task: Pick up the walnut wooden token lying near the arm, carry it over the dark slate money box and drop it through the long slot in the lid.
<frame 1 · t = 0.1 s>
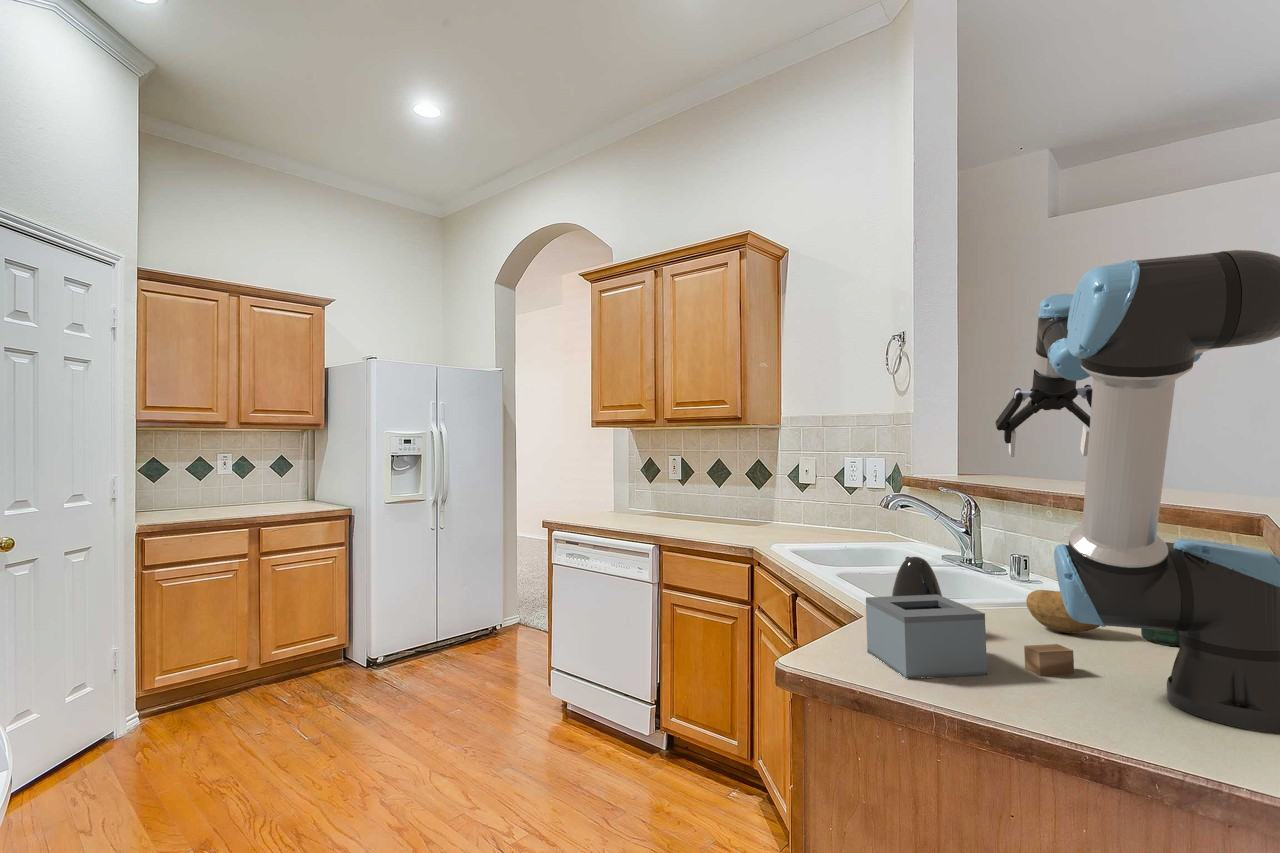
hand: (1046, 453, 139), 36 cm above the table, tool tilted 35°, fingers open, 13 cm apart
black dome cover: (918, 632, 129), on the table
potato: (1068, 632, 127), on the table
money box: (923, 662, 110), on the table
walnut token: (1049, 672, 105), on the table
coffee jar: (1168, 641, 120), on the table
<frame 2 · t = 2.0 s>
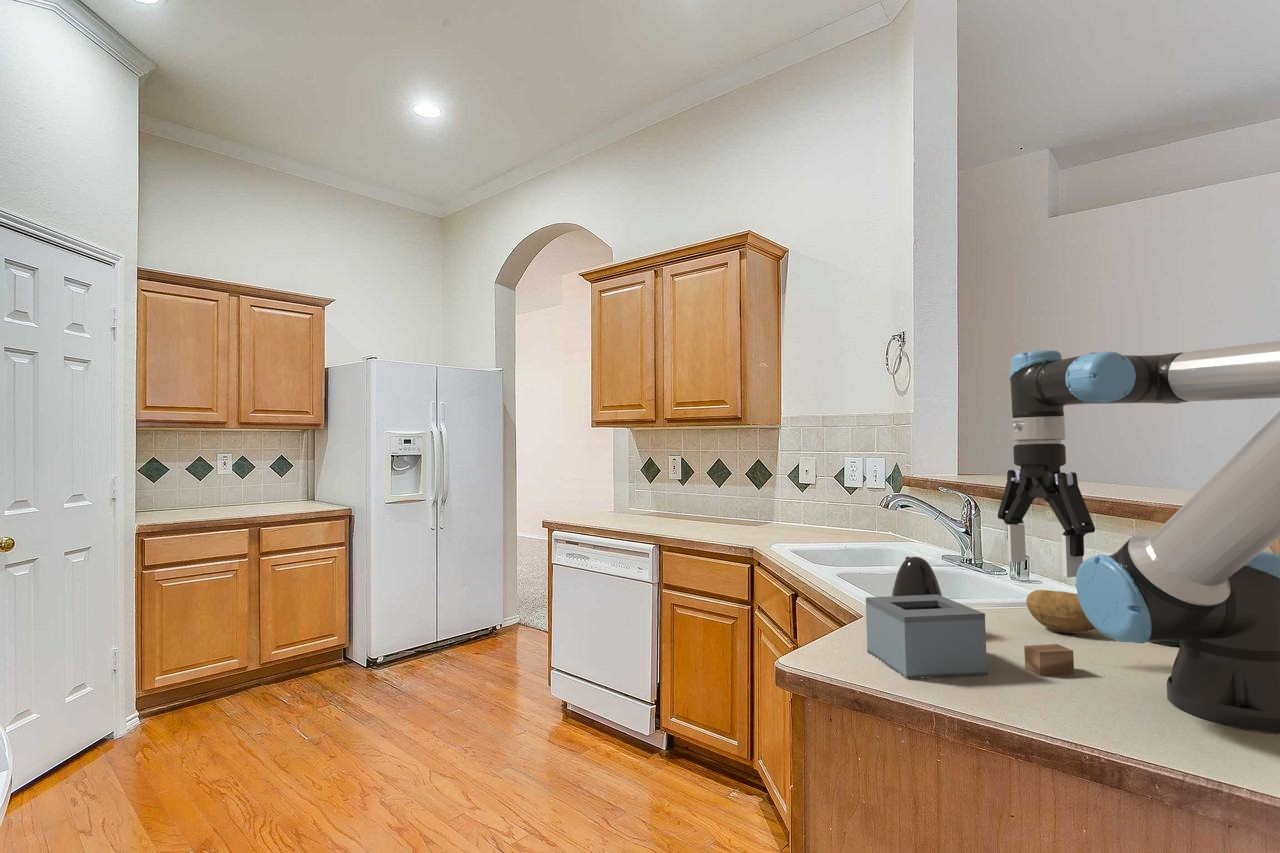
hand: (1043, 568, 106), 17 cm above the table, tool pointing down, fingers open, 13 cm apart
nothing on the table moved.
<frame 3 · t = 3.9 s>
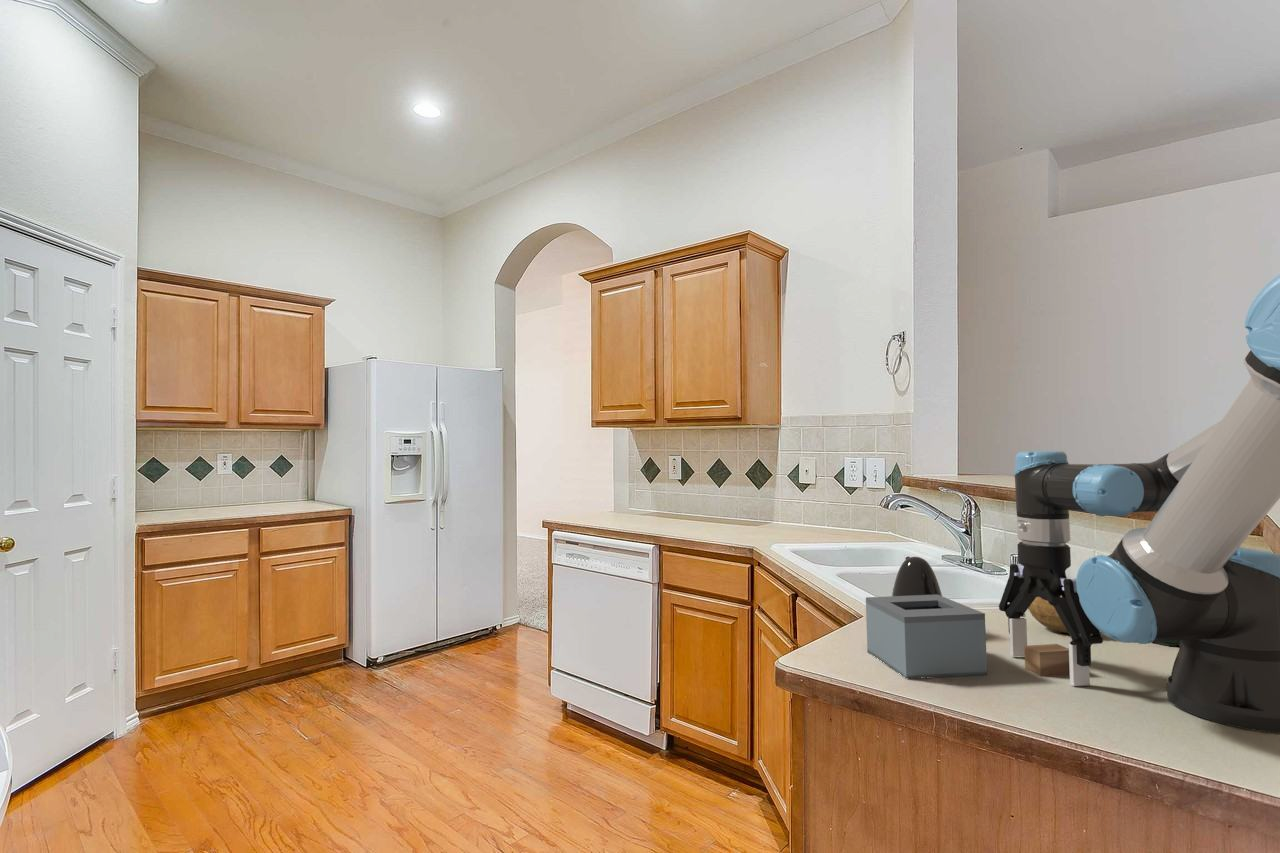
hand: (1047, 669, 105), 0 cm above the table, tool pointing down, fingers open, 13 cm apart
nothing on the table moved.
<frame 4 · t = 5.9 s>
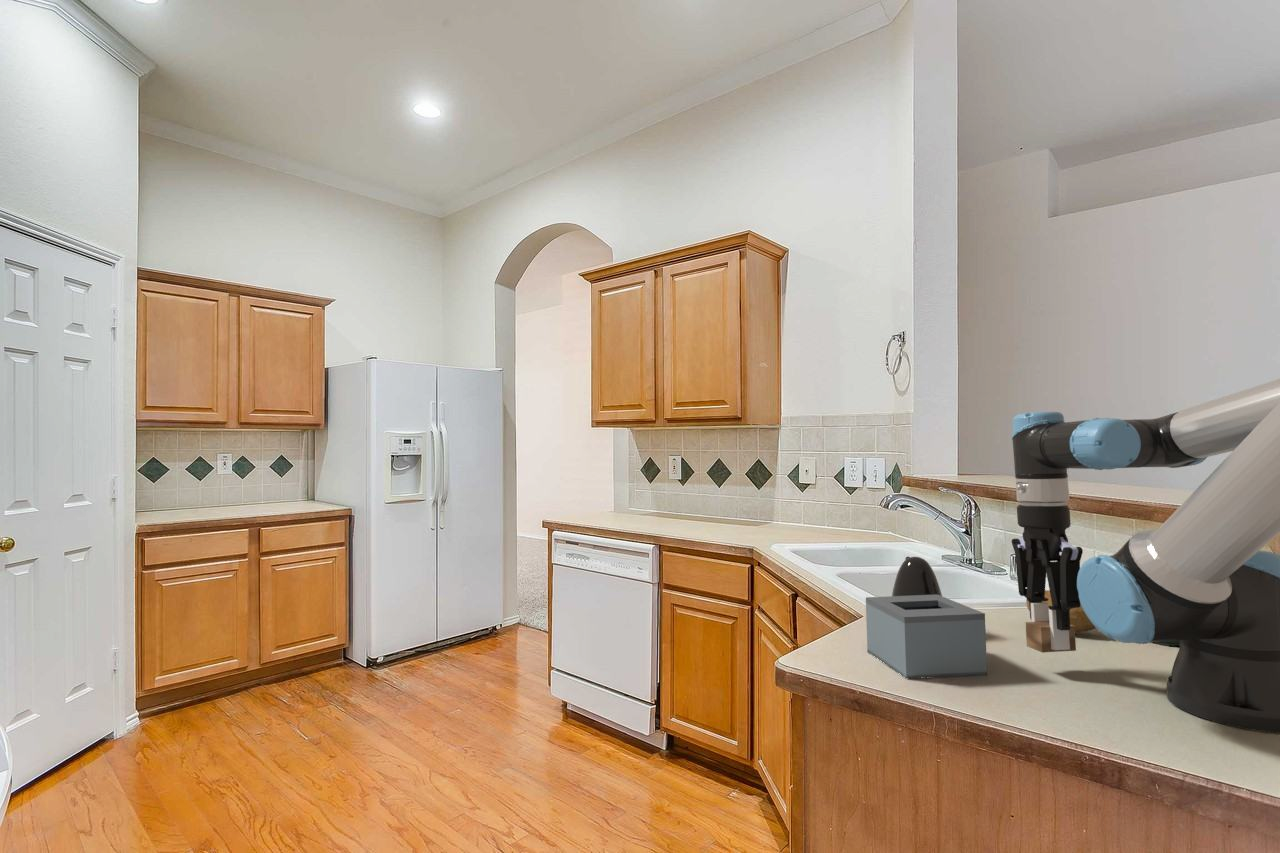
hand: (1050, 645, 105), 4 cm above the table, tool pointing down, fingers closed on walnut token, 3 cm apart
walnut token: (1051, 648, 105), point 4 cm above the table, touching gripper
everything else where it was.
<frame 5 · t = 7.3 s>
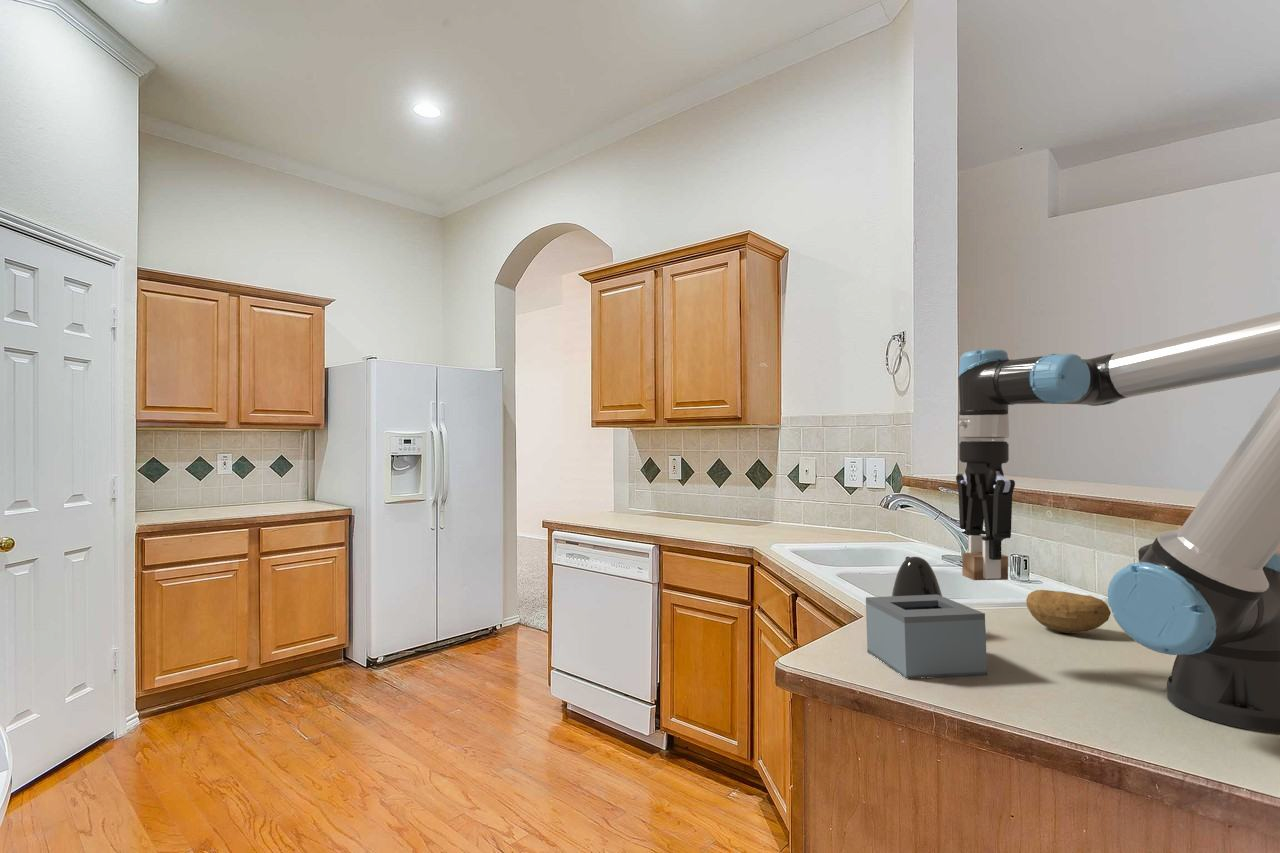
hand: (984, 574, 109), 15 cm above the table, tool pointing down, fingers closed on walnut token, 3 cm apart
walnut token: (984, 577, 109), point 15 cm above the table, touching gripper
everything else where it was.
when the fingers open (12 cm above the table, at t = 9.0 s): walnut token drops 10 cm, resting on money box.
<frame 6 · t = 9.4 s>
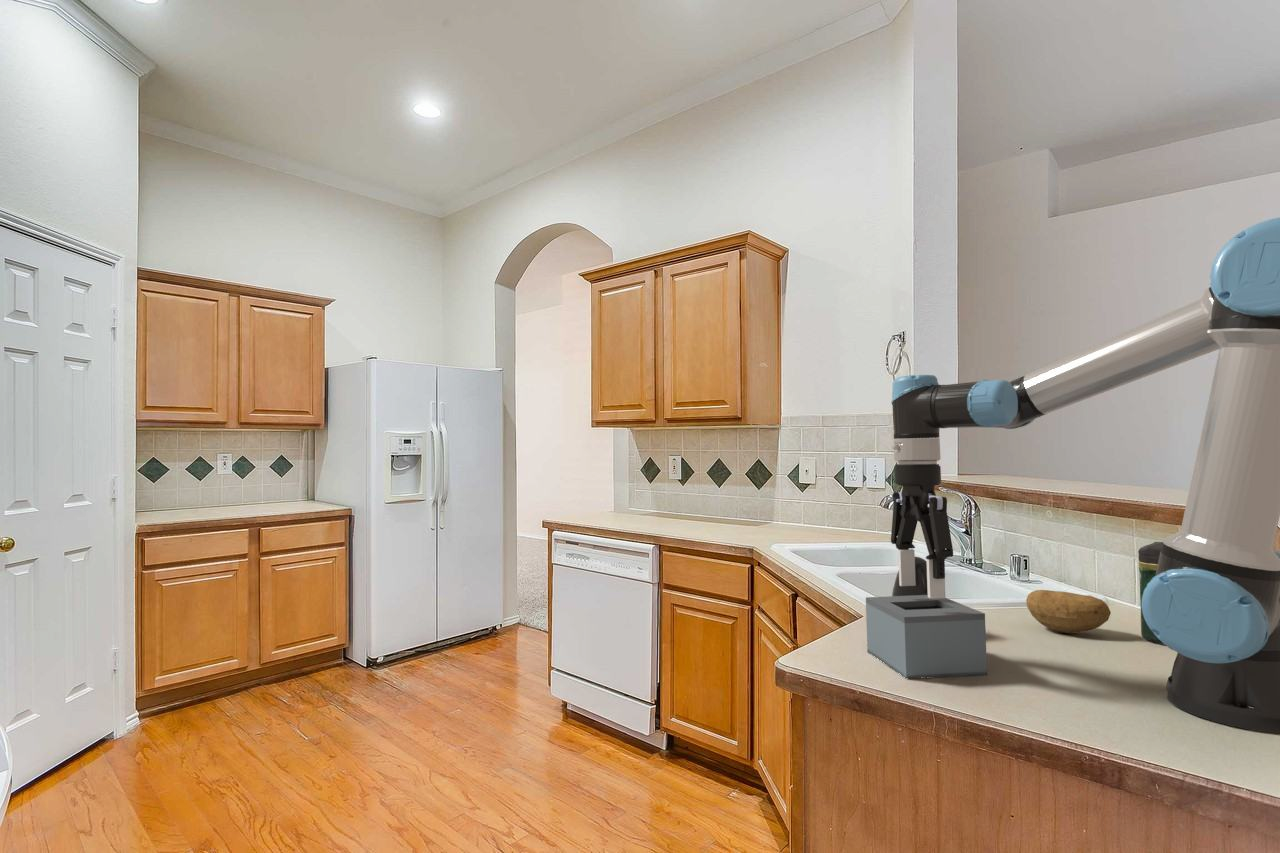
hand: (921, 591, 111), 12 cm above the table, tool pointing down, fingers open, 9 cm apart
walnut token: (924, 656, 110), point 1 cm above the table, tilted 22°, touching money box
everything else where it was.
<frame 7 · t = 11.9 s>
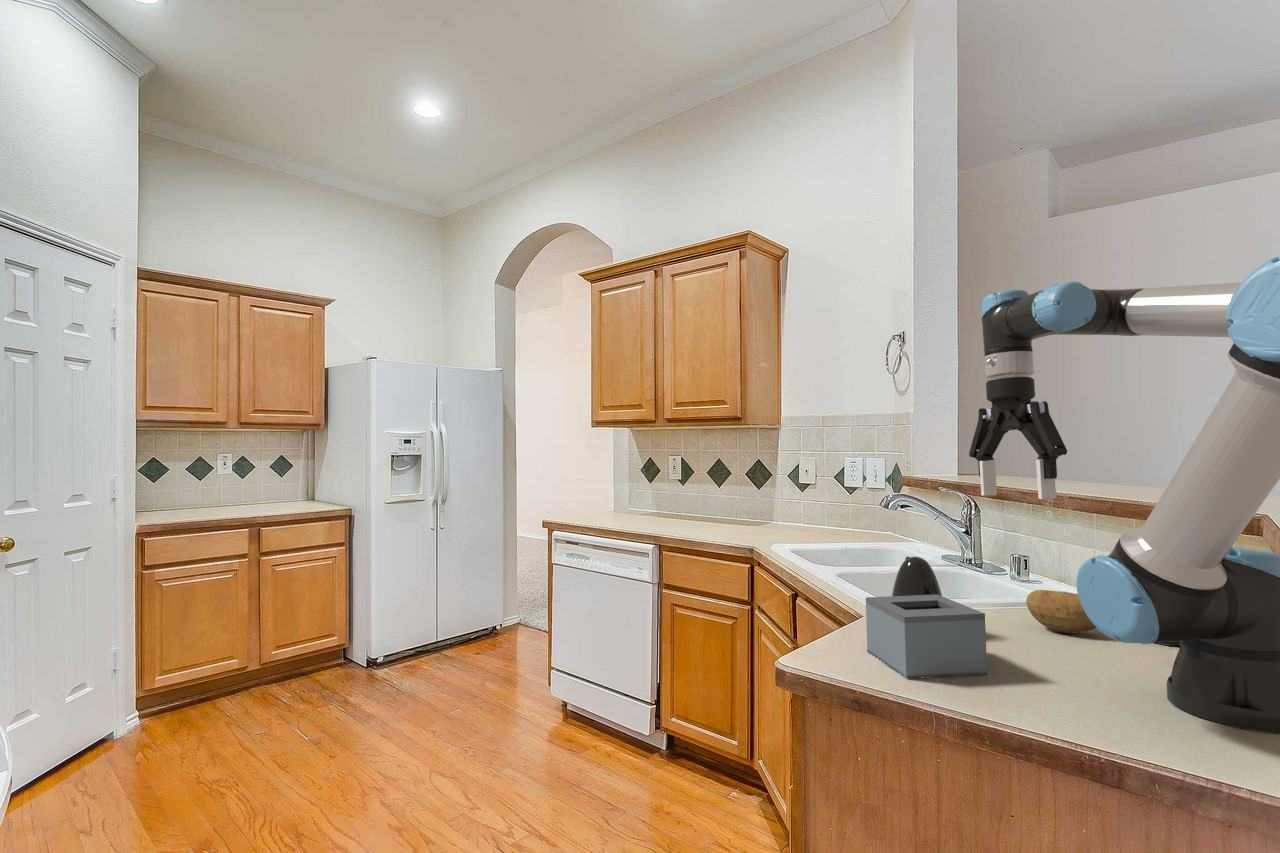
hand: (1016, 497, 112), 29 cm above the table, tool pointing down, fingers open, 13 cm apart
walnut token: (924, 659, 110), resting on money box
everything else where it was.
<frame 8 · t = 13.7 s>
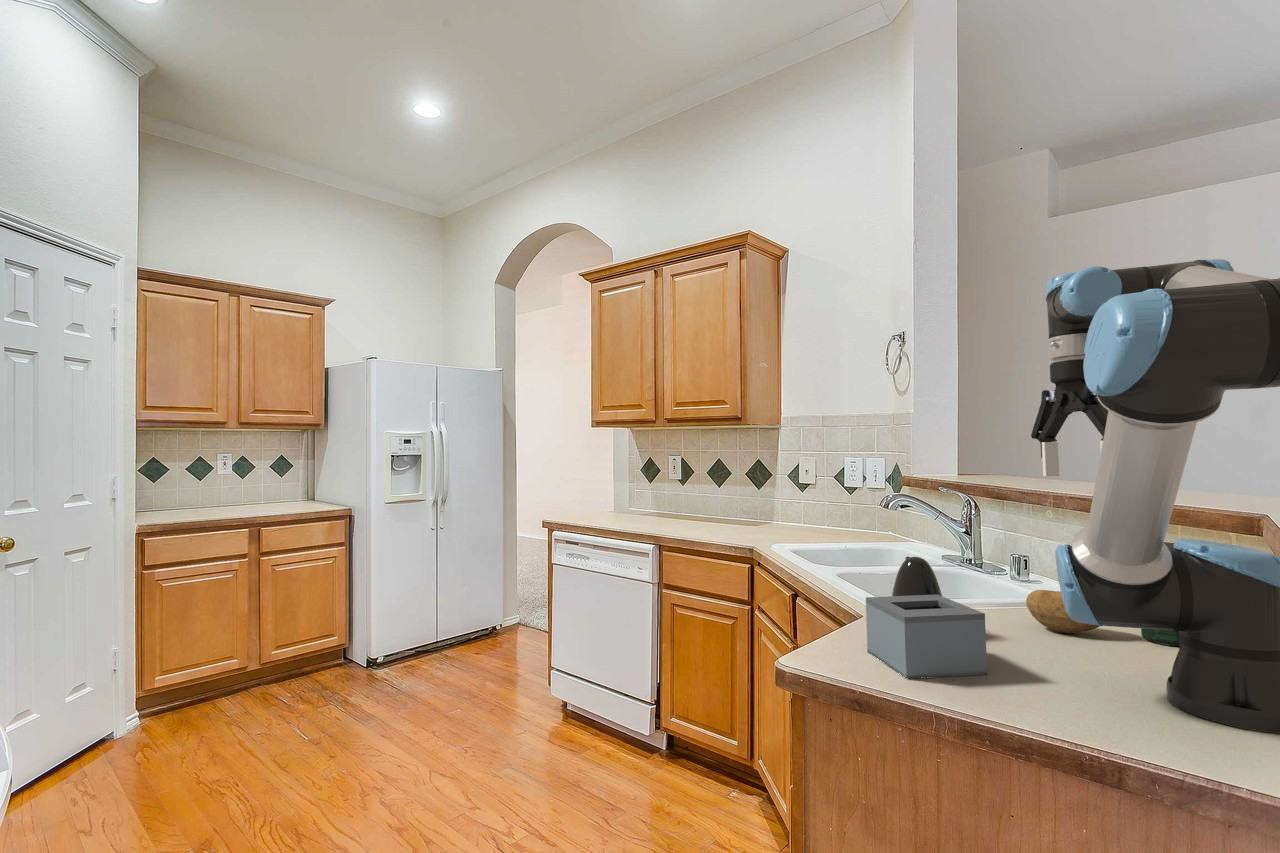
hand: (1079, 477, 113), 32 cm above the table, tool pointing down, fingers open, 13 cm apart
nothing on the table moved.
at the end: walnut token inside the target area on the money box (0.1 cm from its centre), point 0.5 cm above the money box's base; the gripper is holding nothing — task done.
